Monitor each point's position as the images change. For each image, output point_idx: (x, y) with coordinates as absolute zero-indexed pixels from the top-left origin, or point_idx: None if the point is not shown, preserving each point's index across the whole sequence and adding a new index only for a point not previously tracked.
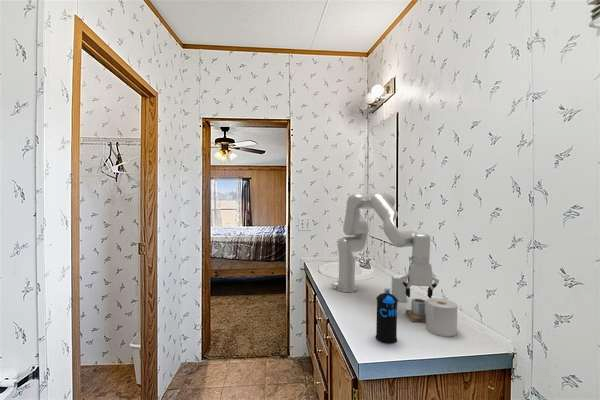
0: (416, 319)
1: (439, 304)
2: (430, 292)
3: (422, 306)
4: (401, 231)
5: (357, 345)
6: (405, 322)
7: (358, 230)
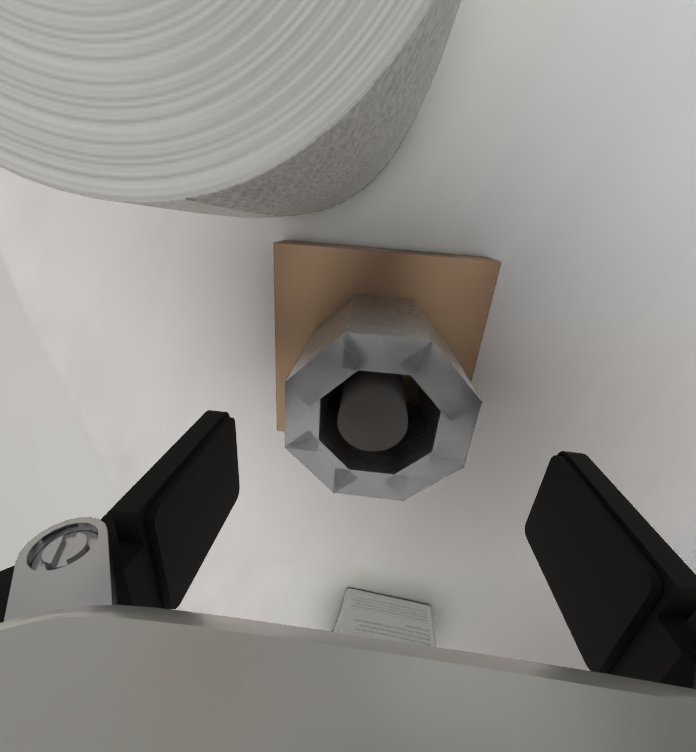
0: (451, 257)
1: None
2: (173, 473)
3: (378, 323)
4: None
5: None
6: (551, 253)
7: None
